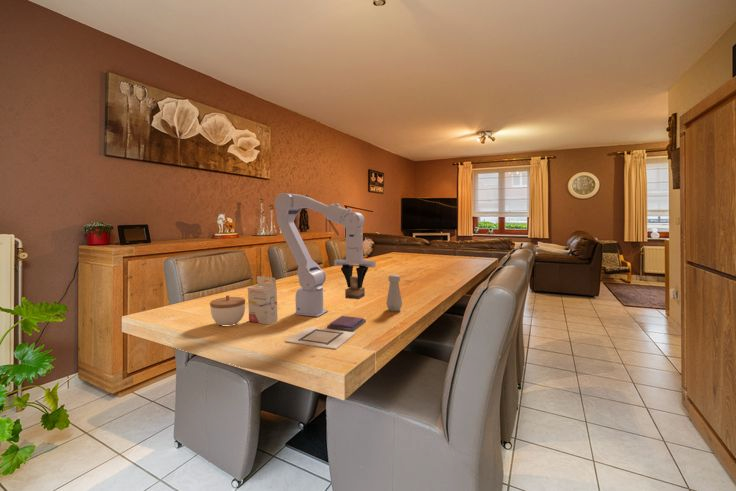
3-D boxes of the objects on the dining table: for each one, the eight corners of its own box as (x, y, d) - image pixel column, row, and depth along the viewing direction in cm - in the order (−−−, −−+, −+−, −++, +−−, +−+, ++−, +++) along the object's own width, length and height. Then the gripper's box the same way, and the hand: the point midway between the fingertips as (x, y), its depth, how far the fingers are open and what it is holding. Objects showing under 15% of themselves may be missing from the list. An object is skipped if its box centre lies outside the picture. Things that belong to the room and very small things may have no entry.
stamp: (345, 298, 119) (344, 277, 119) (351, 295, 124) (351, 275, 123) (358, 299, 117) (358, 278, 117) (364, 296, 122) (364, 276, 121)
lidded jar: (252, 319, 119) (251, 292, 118) (233, 330, 109) (232, 300, 108) (224, 318, 122) (223, 291, 121) (203, 328, 111) (202, 298, 110)
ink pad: (327, 328, 110) (326, 323, 110) (341, 319, 119) (341, 315, 119) (353, 331, 106) (353, 326, 106) (365, 321, 116) (365, 317, 115)
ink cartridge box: (248, 321, 117) (246, 278, 116) (258, 317, 121) (256, 275, 120) (268, 325, 113) (266, 280, 112) (278, 320, 118) (276, 277, 116)
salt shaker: (401, 312, 126) (401, 276, 125) (385, 311, 127) (385, 276, 126) (402, 308, 132) (402, 273, 131) (387, 307, 133) (387, 273, 132)
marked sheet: (284, 341, 98) (284, 340, 98) (309, 327, 110) (309, 326, 110) (336, 349, 92) (336, 347, 92) (355, 333, 104) (355, 332, 104)
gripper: (378, 247, 120) (378, 286, 121) (340, 246, 126) (341, 283, 127) (371, 249, 114) (371, 290, 115) (331, 248, 119) (331, 287, 120)
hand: (354, 287), depth 120 cm, fingers closed on stamp, 3 cm apart
